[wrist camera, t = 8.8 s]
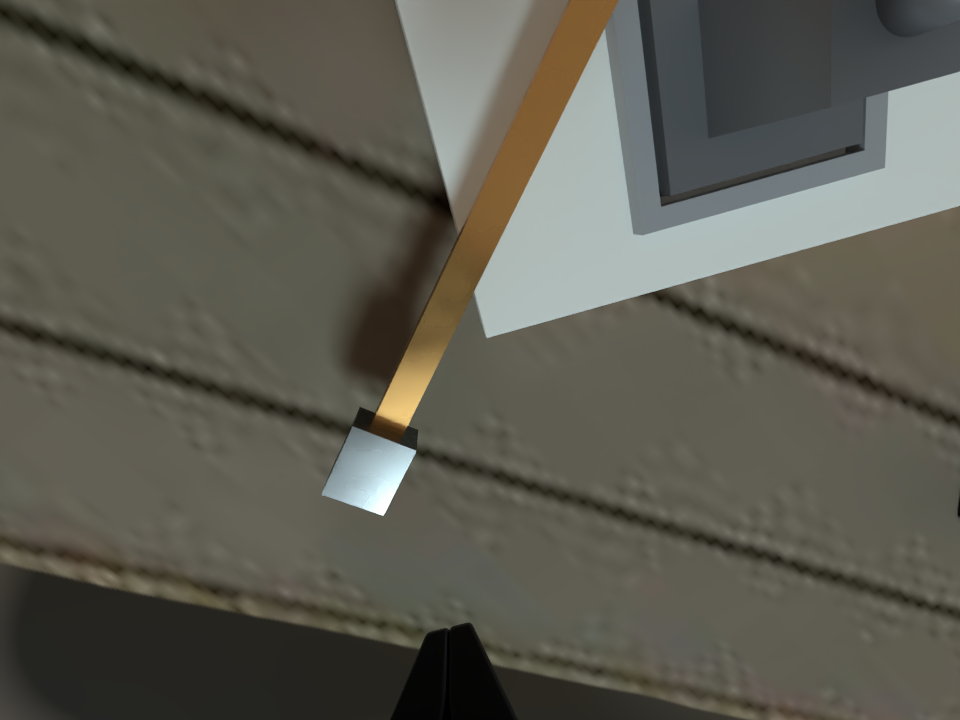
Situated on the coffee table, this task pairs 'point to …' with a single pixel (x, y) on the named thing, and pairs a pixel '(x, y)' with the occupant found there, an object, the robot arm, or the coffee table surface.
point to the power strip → (644, 167)
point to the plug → (778, 77)
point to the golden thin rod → (464, 267)
